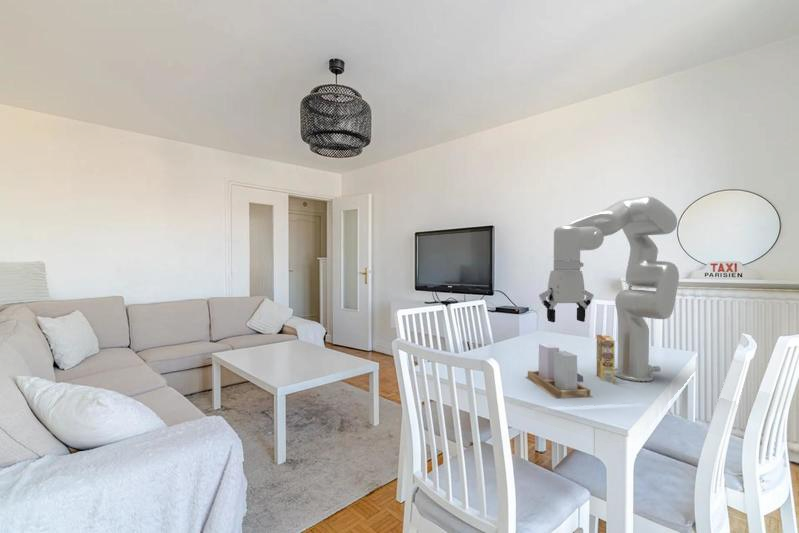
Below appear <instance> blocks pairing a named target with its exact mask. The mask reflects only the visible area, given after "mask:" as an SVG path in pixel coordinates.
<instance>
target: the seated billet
mask: <svg viewBox="0 0 799 533" xmlns="http://www.w3.org/2000/svg"><path fill="white" fill-rule="evenodd" d="M555 351H560V348H559V347H558V346H556V345H554V344H552V343H539V344H538V371H539V377H540V378H542V379H555V376H554V352H555Z"/></svg>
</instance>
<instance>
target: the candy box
mask: <svg viewBox="0 0 799 533" xmlns="http://www.w3.org/2000/svg"><path fill="white" fill-rule="evenodd" d="M614 369H615V339H614V338H612V337H611V336H610V335H609V334H608V335H607V334H596V377H598V378H599V379H600V381H602V382H608V383H611V384H613V385H615V375H614Z"/></svg>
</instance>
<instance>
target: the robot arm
mask: <svg viewBox="0 0 799 533" xmlns="http://www.w3.org/2000/svg"><path fill="white" fill-rule="evenodd" d="M677 218H678V217H677V215H676V214H675V212H674V211H673V210H672V209H671V208H670V207H668V206H667V205H666V204H664V203H663V202H662V201H661V200H659V199H657V198H655V197H653V196H650V195H649V196H647V195H646V196H639V197H634V198H633V197H632V198H626V199H621V200H619V201H617V202H615V203H613V204H611V205H610V206H608V207H606V208H605V209H603V210H601V211H599V212H597V213H593V214H591V215H588V216H586V217H583V218H580V219H577V220H574V221H572V222H570V223H568V224H566V225H565V226H558V227H555V229H554V230H553V270H550V273H549V278H548V282H547V290H545V291H543V292H542V293H539V296H538V297H539V299H540V301H541V304H543V306H544V307H545V309H546V318H547V321H548V322H550V323H555V322H556V309H555V307H556V306H557V305H558V304H576V305H577V307H576V320H577V321H579V322H581V323H584V322H586V320H585V319H586V309H588V306H589V305H590V304H591V303H592V300H593V298H594V294H593V293H591V292H590V291H588V290H586V289H585V281H584V274H583V271H582V270H581V268H583V267H584V266H585V265H584V263H583V262H582V261H581V251H594V250H596V249H598V248H600V247H601V246H602V245H603V243H604V241H605V240H604V239H605V237H607V236H611V235H612V236H613V235H614V234H616V233H617V232H619V231H621V230H622V232H623V233H624V235H625V237H626V239H627V241H628V244H629V248H630V251H629V257H628V261H627V267H626V271H625V281H626V283H627V284H628V285H629V286H632V287H637V288H647V289H655V290H645V289H624V290H621V291H619V292H618V293H617V294H616V296H615V299H614V302H615V309H616V314H617V315H616V316H617V368H614V377H617V378H620V379H623V380H627V381H633V382H640V381H642V382H645V381H647V382H653V381H654V379H655V378H654V377H655V376H654V375H653V374H652V373H653V372H657V373H658V372H661V370H662V369H661V367H660V366H659V365H653V366H652V365H651V364H650V362H649V361H650V359H649V355H650V352H649V351H650V328H649V326H648V323H647V322H646V320H645V319H647V318H648V319H655V320H666V319H669V318H670V317H671V316H672V314H673V312H674V308H675V303H676V298H677V293H678V288H679V280H680V273H679V269H678V266H676V264H675V263H673V262H670V261H666V260H664V261H662V260H661V261H660V260H659V261H658V260H657V258H658V254H659V249H658V247H657V244H656V243H655V242H654V241H653V239H652V238H651V237H650V236H661V235H663V236H664V235H668V234H671V233H673V232H674V231H675V230H676V229H677V226H678V219H677ZM644 318H645V319H644Z"/></svg>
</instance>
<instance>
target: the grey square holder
mask: <svg viewBox="0 0 799 533" xmlns="http://www.w3.org/2000/svg"><path fill="white" fill-rule="evenodd" d="M580 382H584V375H582V374H580V373H578V372H577V383H580Z"/></svg>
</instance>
